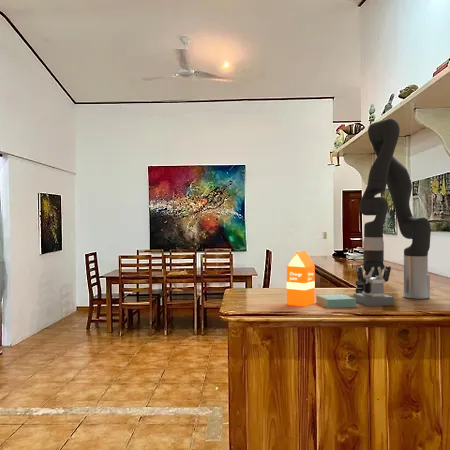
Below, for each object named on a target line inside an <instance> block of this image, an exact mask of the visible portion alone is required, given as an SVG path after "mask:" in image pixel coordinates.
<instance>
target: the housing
mask: <svg viewBox="0 0 450 450" xmlns="http://www.w3.org/2000/svg"><path fill="white" fill-rule="evenodd" d="M385 283H386V282H385V280H384V279H379V278H375V277H371V278H370V279H369V283H368V284H369V293H368V294H366V293H365V292H364V291H362V294H364V295H368V296H371V297H385V295H386V293H385V291H384V287H385Z"/></svg>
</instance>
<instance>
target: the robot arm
mask: <svg viewBox="0 0 450 450" xmlns="http://www.w3.org/2000/svg"><path fill="white" fill-rule="evenodd" d="M400 128H401V127H400V125H399V122H398V121H397V120H396V119H394V118H391V117H390V118H385V119H382V120H378V121H375V122H372V123H370V124H369V126H368V128H367V135H368V138H369V141H370V144H371V146H372V148H373V151H374V153H375V156H376V158H375V160H373V161H374V162H373V163H372V164H371V166H370V168H369V174H368V177H367V178H368V179H367V185H366V188H365V190H364V192H363V195H362V197H361V198H360V201H359V207H358V208H359V211H360V212H359V213H361V214H362V215H363V216H375V217H374V219H373V220H372V221H367V222H364V226H363V243H362V244H363V250H362V251H363V255H362V256H363V257H362V258H363V263H362V265H360V266H355V270H356V276H357V281H359V282H362V283H363V291H364V292H365V293H366V294H368V293H369V284H368V283H369V279H370V278H371V276H373V275H375V276H376V277H377V278H379V279H384V280H385V283H386V282H389V279H390V274H391V270H392V267H391V266H388V265H385V264H384V257H385V255H384V254H385V250H384V249H385V244H384V243H385V242H384V226H385V221H386V218H387V214H388V210H389V203H388V200H387V199H386V198H385V197H383V196H377V195H380V194H382V193H384V192H385V191H386V189H387V190H388V191H389V194H390V197H391V201H392V204H393V207H394V210H395V215H396V216H395V217H396V220H397V224H398V229H399V232H400V233H401V235H402V237H403V238H405V239H408V240H411V244H410V245H409V246H408V247H406V248H404V250H403V297H404V298H408V299H418V300H421V299H422V300H423V299H429V298H430V297H431V296H430V295H431V291H430V290H431V282H430V281H431V276H430V274H428V273H429V272H428V271H429V270H428V269H429V268H428V264H429V261H428V260H429V257H428V256H429V250H430V248H431V247H430V246H431V233H432V231H431V230H432V227H431V224H430V221H429V219H428V218H426V217H424V216H414V215H413V213H412V210H411V207H410V199H411V195H412V191H413V184H412V180H411V178H410V175H409V171H408V169H407V167H405V165H404V164H403V163H401V161H399V160H398V158H396V157H395V156H394V154H395V150H396V147H397V144H398V142H399V137H400V133H401V132H400V131H401V129H400ZM363 271H364V273H363ZM381 271H382V272H381Z"/></svg>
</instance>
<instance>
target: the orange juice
mask: <svg viewBox="0 0 450 450" xmlns="http://www.w3.org/2000/svg"><path fill="white" fill-rule="evenodd" d="M315 266H316V265H315V264H314V262H313V260H312V259H311V257H310V256H309V253H307V250H302V251H296V252H295V254H294V255H293V257H292V258H291V260H290V261H289V262H288V264H287V266H286V305H289V306H297V307H307V305H308V306H310V304H311V305H313V304H315V303H316V302H315V299H316V296H315V293H316V292H315V291H316V290H315V287H316V285H315V284H316V283H315V278H316V277H315V276H316V274H315V270H316V268H315Z"/></svg>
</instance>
